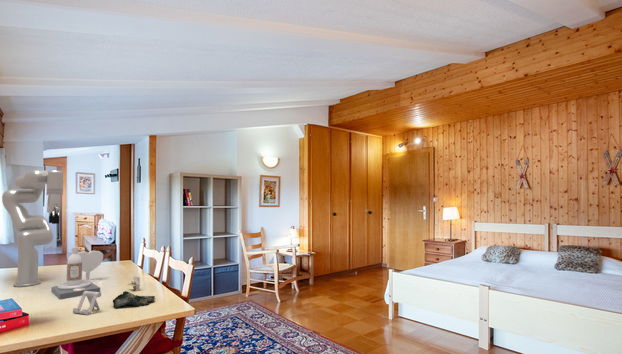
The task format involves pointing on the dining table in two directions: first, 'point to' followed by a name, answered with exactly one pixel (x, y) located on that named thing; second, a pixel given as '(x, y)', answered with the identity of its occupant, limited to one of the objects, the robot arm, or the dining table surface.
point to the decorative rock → (131, 299)
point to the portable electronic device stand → (92, 301)
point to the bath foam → (74, 268)
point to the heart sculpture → (90, 262)
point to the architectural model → (135, 283)
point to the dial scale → (74, 289)
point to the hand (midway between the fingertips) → (53, 223)
